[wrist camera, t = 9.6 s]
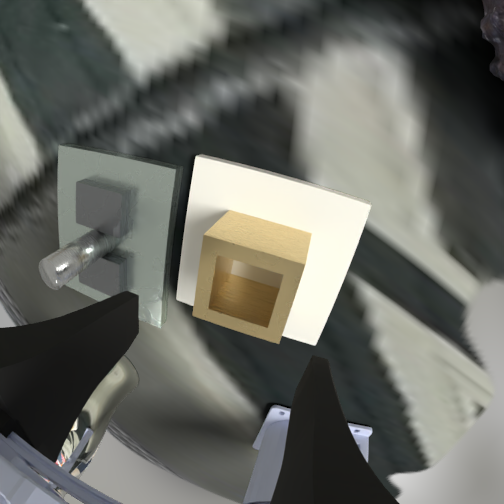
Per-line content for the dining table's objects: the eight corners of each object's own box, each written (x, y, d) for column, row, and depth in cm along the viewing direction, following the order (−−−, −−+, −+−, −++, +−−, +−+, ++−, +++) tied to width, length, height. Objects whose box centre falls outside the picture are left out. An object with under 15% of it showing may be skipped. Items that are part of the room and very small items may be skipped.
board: (369, 201, 17) (371, 205, 16) (316, 338, 21) (315, 345, 21) (201, 154, 18) (195, 155, 17) (180, 293, 23) (176, 299, 22)
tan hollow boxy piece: (311, 233, 18) (305, 264, 14) (289, 303, 20) (278, 343, 16) (229, 209, 18) (203, 234, 15) (216, 280, 20) (192, 315, 17)
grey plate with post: (183, 166, 19) (116, 194, 13) (166, 320, 24) (121, 378, 18) (68, 143, 20) (-4, 162, 14) (70, 278, 25) (19, 318, 19)
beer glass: (82, 360, 30) (1, 453, 17) (94, 326, 27) (-8, 435, 14) (132, 399, 31) (62, 503, 17) (152, 372, 27) (68, 499, 14)
